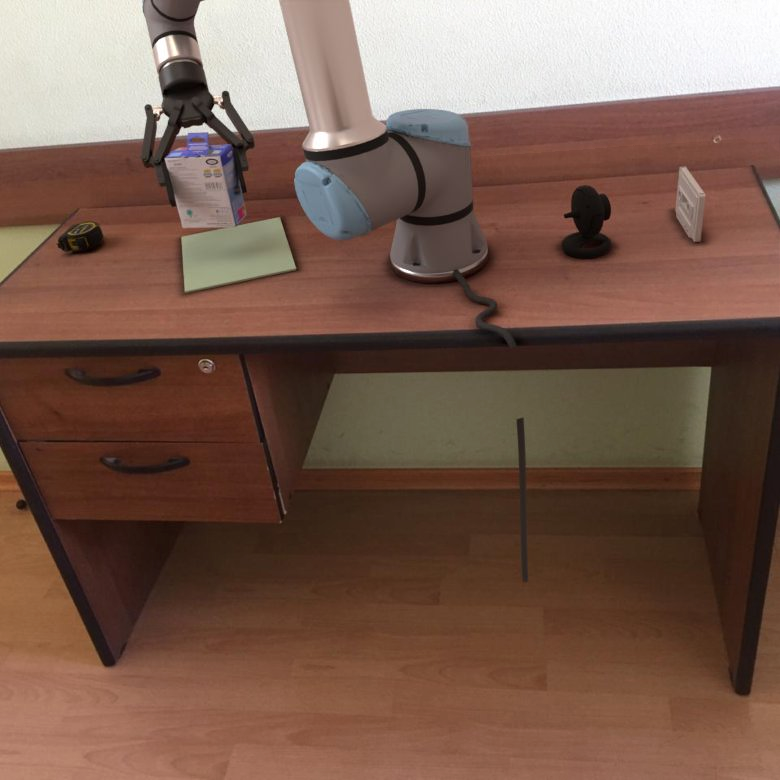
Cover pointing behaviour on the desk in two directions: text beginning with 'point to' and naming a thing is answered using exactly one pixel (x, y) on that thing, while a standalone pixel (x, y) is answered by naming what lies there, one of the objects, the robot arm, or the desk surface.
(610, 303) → the desk surface
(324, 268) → the desk surface
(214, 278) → the mat
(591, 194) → the webcam
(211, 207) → the ink cartridge box
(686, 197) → the cassette
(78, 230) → the tape measure
